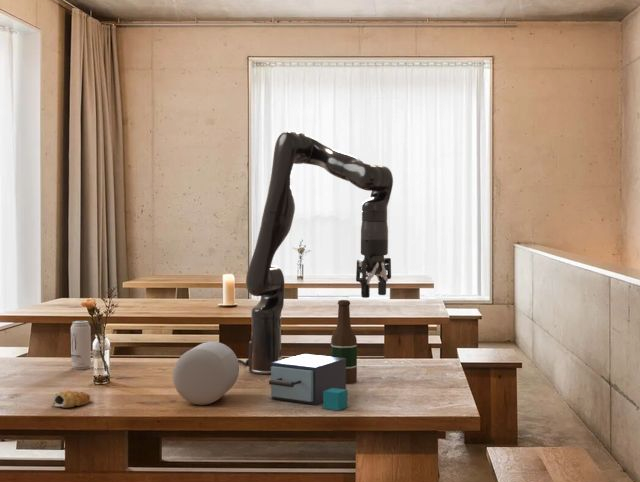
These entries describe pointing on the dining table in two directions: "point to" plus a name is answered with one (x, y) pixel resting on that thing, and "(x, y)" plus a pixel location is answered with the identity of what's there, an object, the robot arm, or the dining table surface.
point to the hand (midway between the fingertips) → (373, 296)
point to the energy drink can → (80, 345)
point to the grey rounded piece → (205, 373)
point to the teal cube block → (335, 399)
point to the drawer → (291, 383)
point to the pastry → (70, 399)
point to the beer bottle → (345, 341)
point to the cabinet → (317, 373)
